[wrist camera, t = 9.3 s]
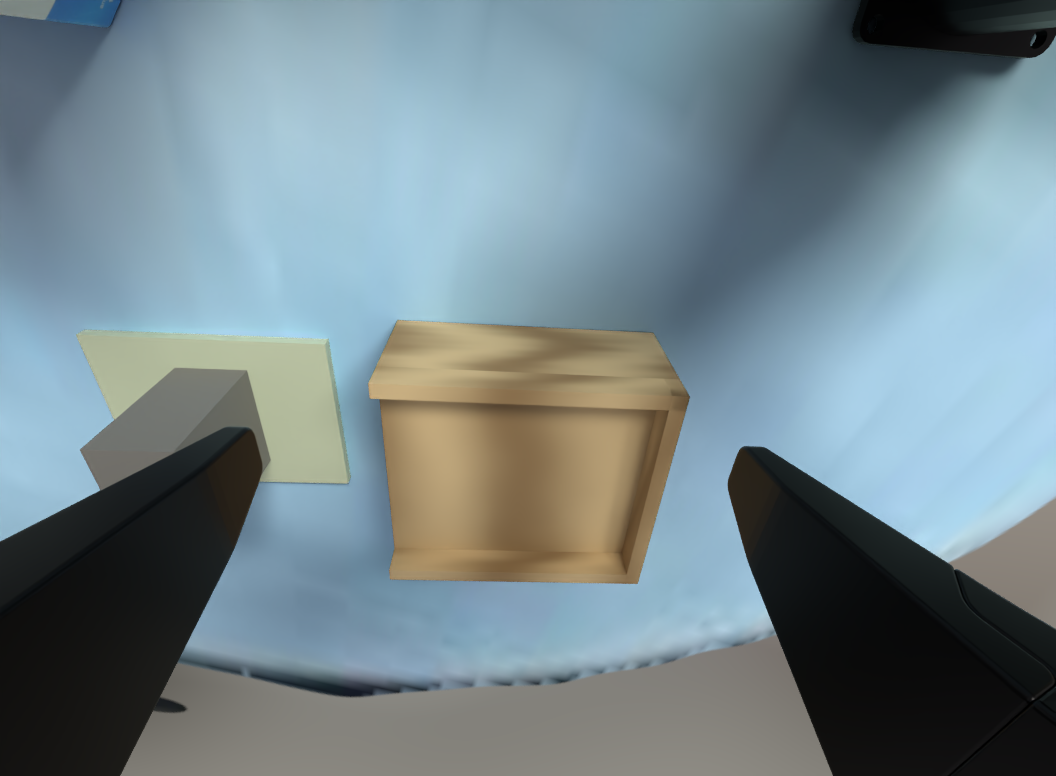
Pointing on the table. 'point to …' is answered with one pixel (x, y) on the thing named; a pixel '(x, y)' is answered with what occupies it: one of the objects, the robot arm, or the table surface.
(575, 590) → the table surface
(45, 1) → the ink box
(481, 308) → the table surface
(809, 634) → the robot arm
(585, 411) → the oak box
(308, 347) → the cover plate
